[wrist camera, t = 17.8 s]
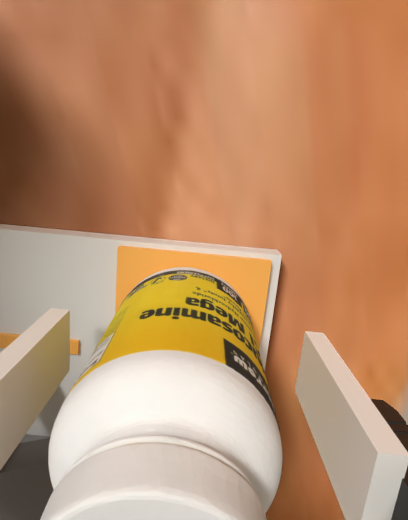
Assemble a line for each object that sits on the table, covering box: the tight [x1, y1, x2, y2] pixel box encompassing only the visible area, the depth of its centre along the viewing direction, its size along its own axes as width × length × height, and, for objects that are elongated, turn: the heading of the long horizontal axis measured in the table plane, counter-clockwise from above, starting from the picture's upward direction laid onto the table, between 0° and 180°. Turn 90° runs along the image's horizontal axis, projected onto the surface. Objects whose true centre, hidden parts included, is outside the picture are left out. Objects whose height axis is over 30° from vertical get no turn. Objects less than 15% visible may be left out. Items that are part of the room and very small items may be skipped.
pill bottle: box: [40, 267, 282, 520], centre depth 12 cm, size 6×6×11 cm
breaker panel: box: [0, 224, 282, 443], centre depth 16 cm, size 17×18×8 cm
